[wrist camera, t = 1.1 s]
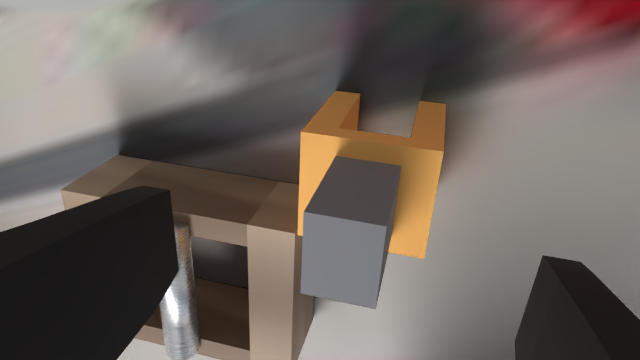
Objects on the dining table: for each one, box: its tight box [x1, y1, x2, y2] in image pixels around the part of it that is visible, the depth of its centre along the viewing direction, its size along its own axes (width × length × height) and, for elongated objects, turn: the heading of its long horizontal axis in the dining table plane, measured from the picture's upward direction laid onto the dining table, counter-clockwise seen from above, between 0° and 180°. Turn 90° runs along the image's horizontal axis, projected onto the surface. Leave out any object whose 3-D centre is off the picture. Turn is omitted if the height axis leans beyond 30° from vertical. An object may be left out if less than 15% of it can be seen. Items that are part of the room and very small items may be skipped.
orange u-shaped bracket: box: [298, 91, 446, 309], centre depth 12 cm, size 3×3×7 cm
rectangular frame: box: [61, 155, 314, 360], centre depth 17 cm, size 6×8×4 cm
